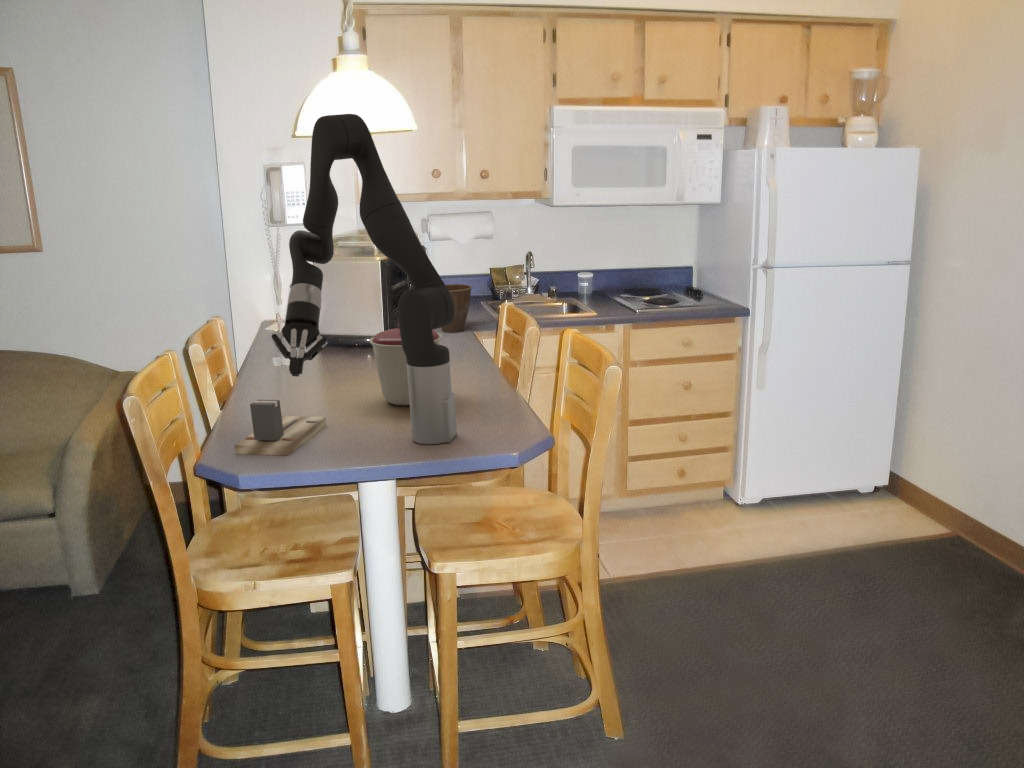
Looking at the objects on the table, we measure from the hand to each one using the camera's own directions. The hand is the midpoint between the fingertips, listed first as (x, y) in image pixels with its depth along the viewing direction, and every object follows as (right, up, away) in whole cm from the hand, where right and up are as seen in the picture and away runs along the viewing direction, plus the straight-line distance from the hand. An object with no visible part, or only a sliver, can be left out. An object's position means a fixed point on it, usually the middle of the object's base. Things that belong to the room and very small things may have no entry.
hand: (295, 375), depth 176 cm
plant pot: (+27, +17, +109) cm, 113 cm away
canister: (+23, -6, +24) cm, 34 cm away
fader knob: (-3, -14, -8) cm, 16 cm away
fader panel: (-2, -14, -2) cm, 15 cm away
